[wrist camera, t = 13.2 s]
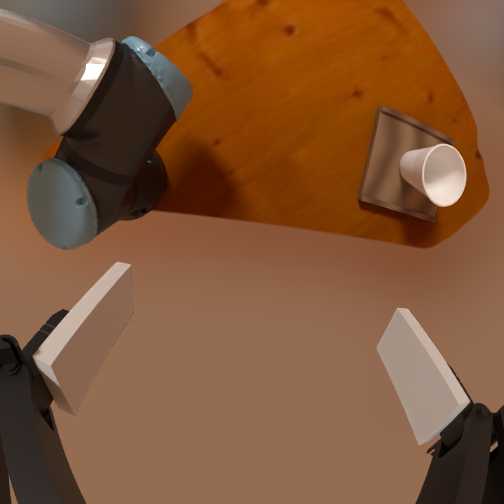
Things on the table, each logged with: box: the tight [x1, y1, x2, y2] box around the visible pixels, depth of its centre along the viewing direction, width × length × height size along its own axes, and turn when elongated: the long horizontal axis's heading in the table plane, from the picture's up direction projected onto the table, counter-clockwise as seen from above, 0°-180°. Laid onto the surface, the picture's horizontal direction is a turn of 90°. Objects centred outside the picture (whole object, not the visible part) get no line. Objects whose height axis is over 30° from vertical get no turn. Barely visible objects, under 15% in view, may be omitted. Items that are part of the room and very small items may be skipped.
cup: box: [400, 144, 466, 207], centre depth 37 cm, size 10×10×11 cm
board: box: [358, 105, 455, 223], centre depth 43 cm, size 18×18×2 cm
